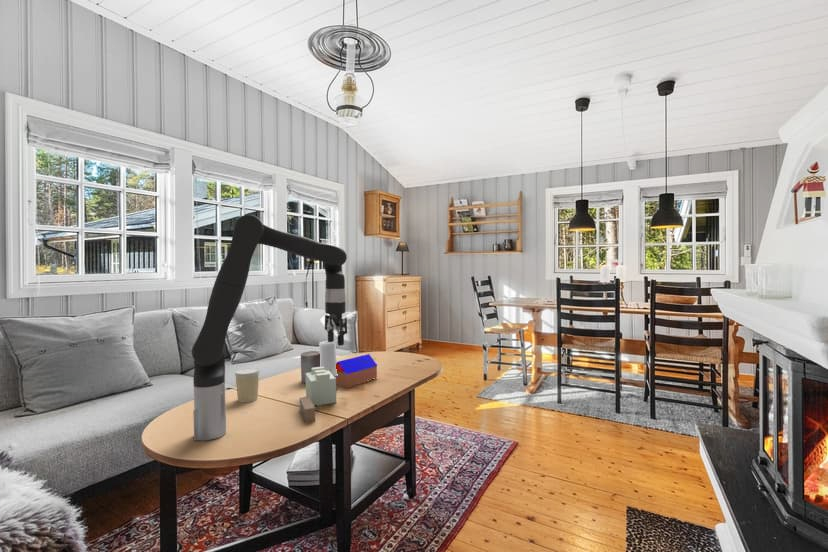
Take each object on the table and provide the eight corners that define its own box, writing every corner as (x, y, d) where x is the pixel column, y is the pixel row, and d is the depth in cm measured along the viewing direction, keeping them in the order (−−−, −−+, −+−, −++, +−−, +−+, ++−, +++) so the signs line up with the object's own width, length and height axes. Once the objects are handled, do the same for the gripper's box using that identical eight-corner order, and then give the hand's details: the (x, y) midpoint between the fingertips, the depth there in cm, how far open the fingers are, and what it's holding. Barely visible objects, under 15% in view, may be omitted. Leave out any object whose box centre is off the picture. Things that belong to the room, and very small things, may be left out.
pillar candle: (319, 377, 200) (318, 347, 199) (323, 382, 191) (322, 351, 190) (299, 379, 196) (298, 349, 195) (302, 384, 187) (301, 353, 186)
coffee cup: (251, 394, 173) (251, 367, 173) (264, 398, 168) (263, 370, 168) (231, 400, 166) (230, 372, 165) (243, 404, 160) (243, 375, 160)
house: (377, 378, 195) (377, 355, 195) (346, 388, 180) (346, 363, 180) (361, 375, 203) (361, 352, 203) (330, 384, 188) (329, 359, 188)
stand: (311, 406, 157) (310, 376, 157) (306, 396, 170) (305, 368, 169) (336, 402, 161) (335, 373, 161) (329, 392, 174) (328, 365, 174)
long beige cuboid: (305, 423, 140) (305, 409, 140) (300, 410, 153) (299, 397, 153) (315, 421, 142) (315, 407, 142) (309, 409, 155) (308, 396, 154)
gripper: (318, 300, 152) (318, 342, 152) (334, 302, 140) (334, 347, 141) (336, 299, 156) (336, 339, 156) (353, 301, 145) (353, 345, 145)
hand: (335, 343), depth 149 cm, fingers open, 8 cm apart
